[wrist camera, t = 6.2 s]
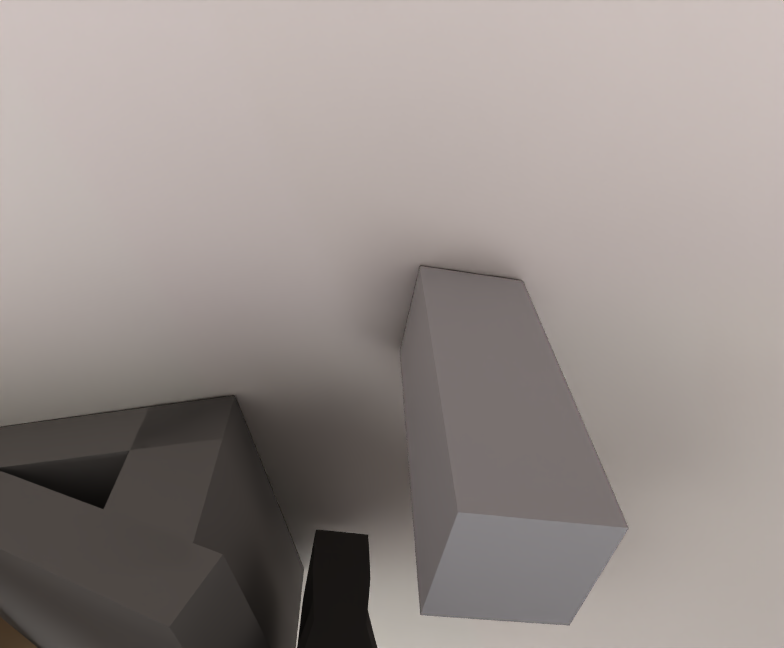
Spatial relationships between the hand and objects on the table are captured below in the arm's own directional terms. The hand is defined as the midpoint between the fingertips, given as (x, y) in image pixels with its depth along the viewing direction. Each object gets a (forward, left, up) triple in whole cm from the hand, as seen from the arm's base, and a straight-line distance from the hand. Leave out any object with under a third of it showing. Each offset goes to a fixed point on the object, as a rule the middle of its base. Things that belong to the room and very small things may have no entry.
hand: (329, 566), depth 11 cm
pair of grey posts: (-1, +7, -1) cm, 7 cm away
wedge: (+4, +1, -1) cm, 4 cm away
